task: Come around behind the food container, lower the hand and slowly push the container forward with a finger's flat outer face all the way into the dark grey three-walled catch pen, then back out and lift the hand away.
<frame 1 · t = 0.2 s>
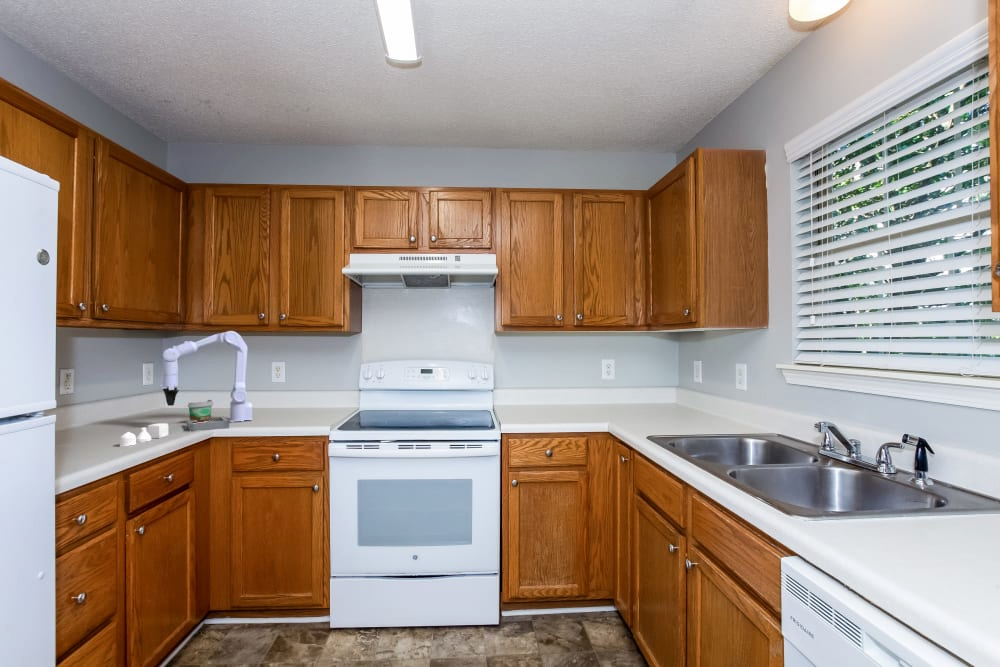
hand: (170, 404, 218), 10 cm above the countertop, tool pointing down, fingers open, 7 cm apart
food container: (203, 422, 230), on the countertop
catch pen: (207, 426, 218), on the countertop
container set: (143, 442, 188), on the countertop
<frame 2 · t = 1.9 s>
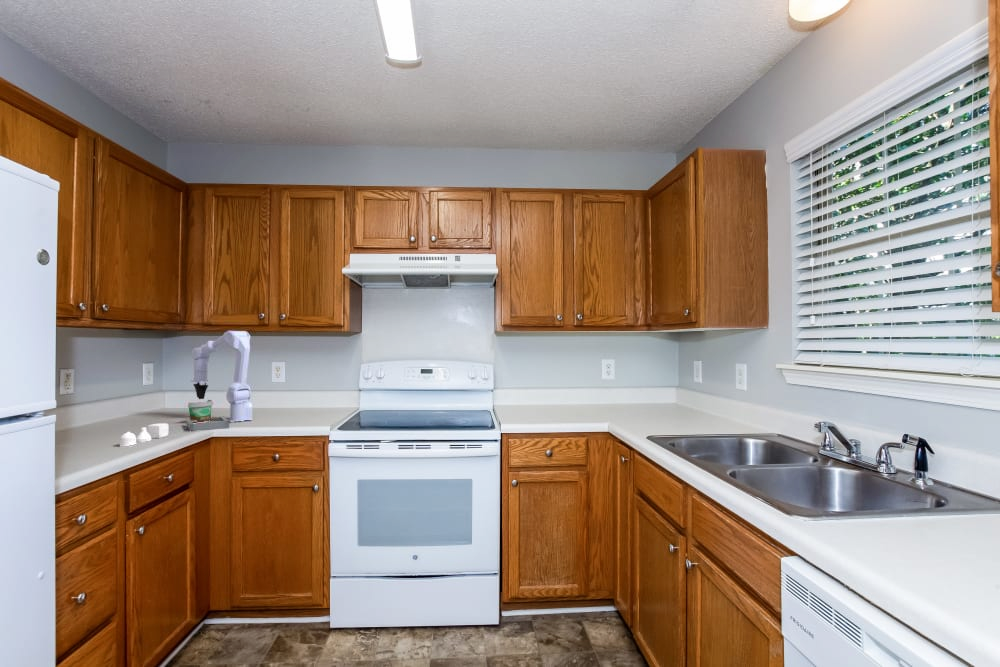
hand: (200, 398, 242), 10 cm above the countertop, tool pointing down, fingers open, 7 cm apart
nothing on the countertop moved.
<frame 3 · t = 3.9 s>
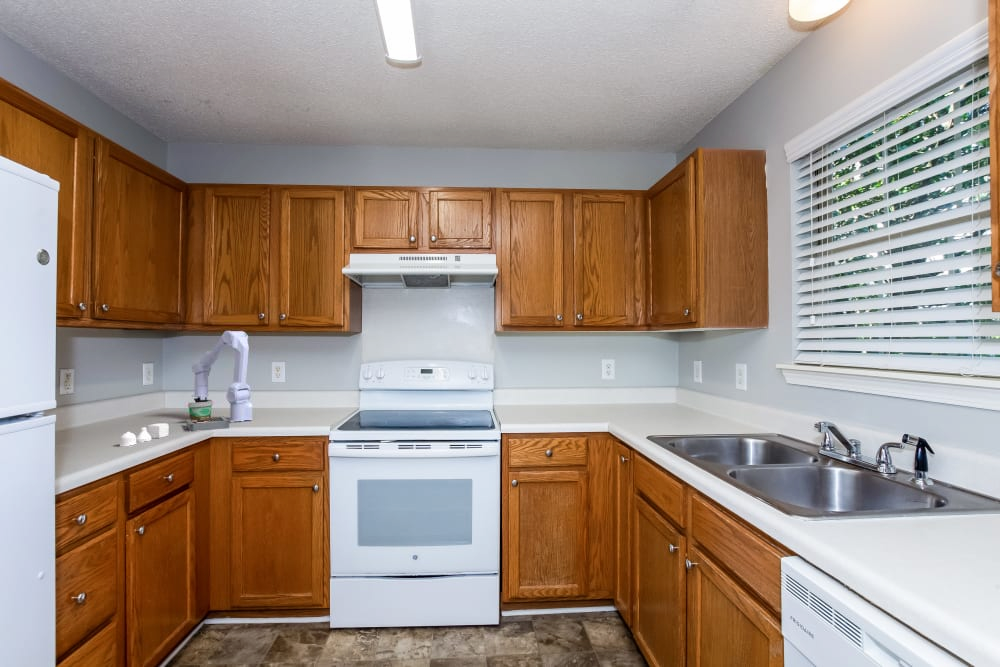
hand: (201, 412, 239), 3 cm above the countertop, tool pointing down, fingers open, 7 cm apart
food container: (203, 422, 230), on the countertop, touching gripper
everything else where it was.
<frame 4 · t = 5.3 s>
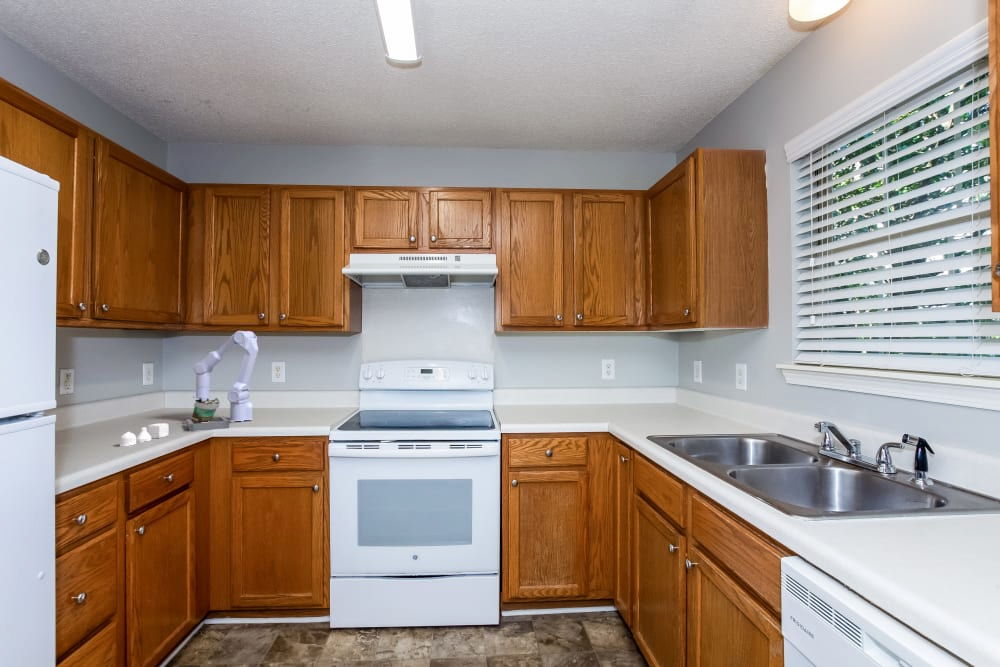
hand: (202, 414, 234), 3 cm above the countertop, tool pointing down, fingers open, 4 cm apart
food container: (204, 421, 229), point 1 cm above the countertop, touching gripper
everything else where it was.
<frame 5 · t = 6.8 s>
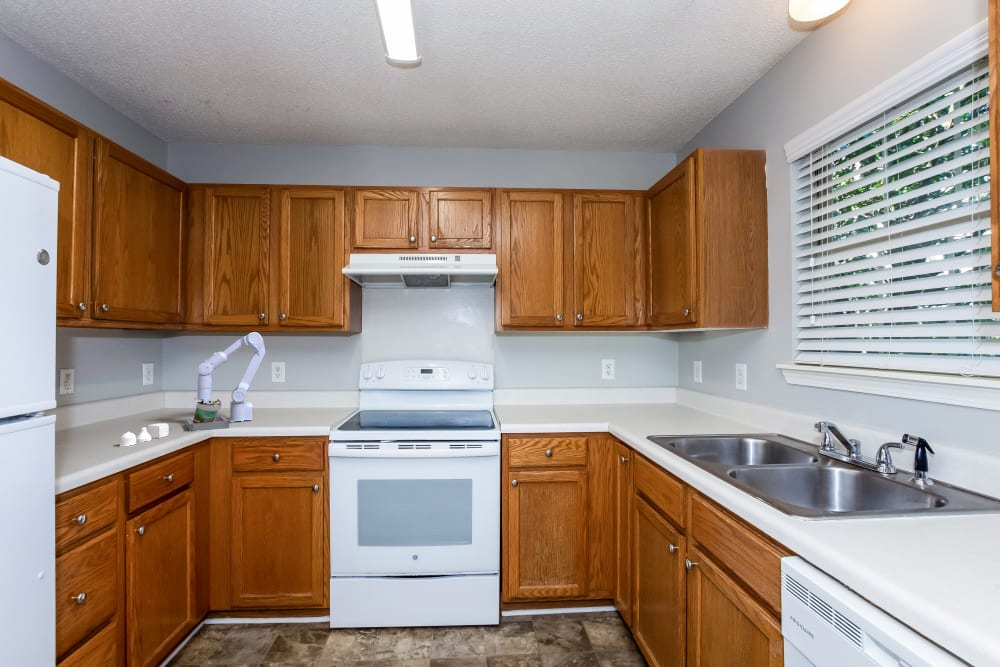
hand: (204, 416, 227), 3 cm above the countertop, tool pointing down, fingers closed
food container: (206, 423, 224), point 1 cm above the countertop, touching gripper
everything else where it was.
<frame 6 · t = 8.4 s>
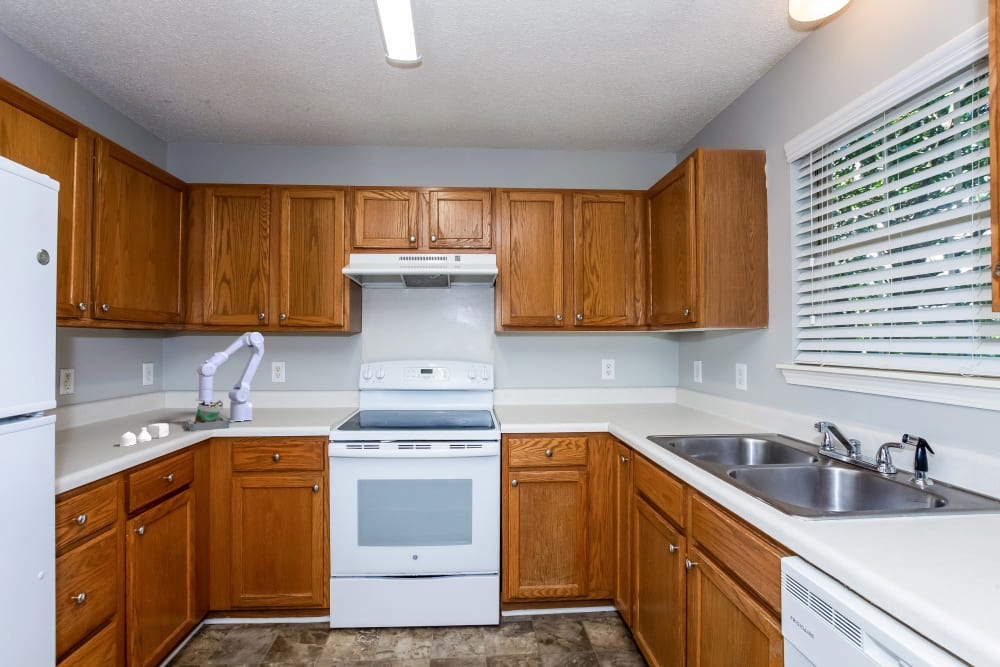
hand: (205, 418, 223), 3 cm above the countertop, tool pointing down, fingers closed
food container: (207, 424, 220), point 1 cm above the countertop, touching gripper
everything else where it was.
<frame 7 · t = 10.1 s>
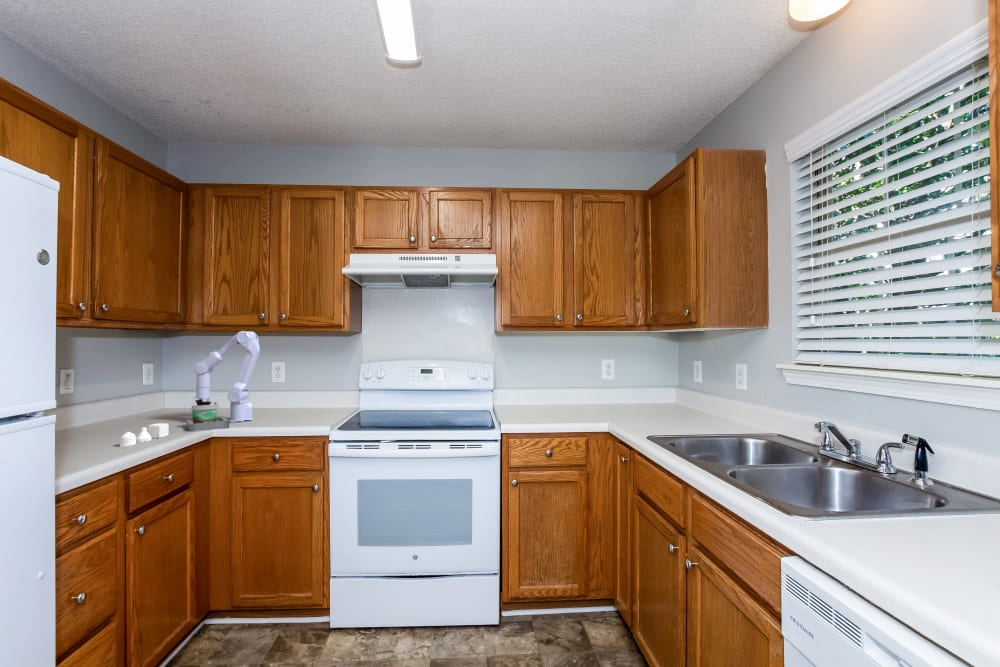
hand: (202, 415, 232), 3 cm above the countertop, tool pointing down, fingers open, 7 cm apart
food container: (208, 426, 220), on the countertop
everything else where it was.
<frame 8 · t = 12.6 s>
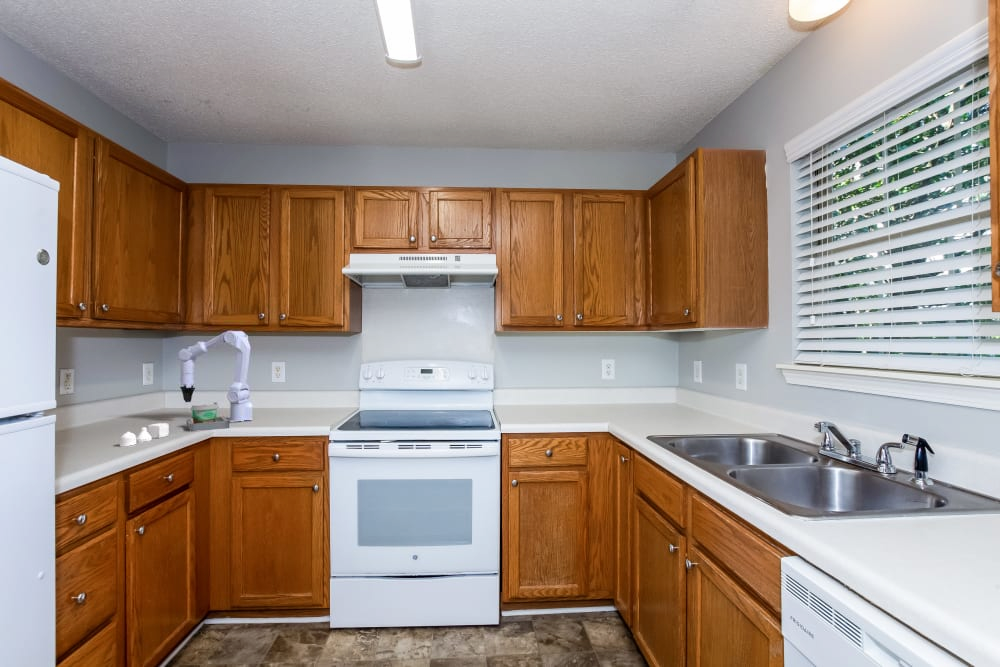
hand: (187, 401, 234), 9 cm above the countertop, tool pointing down, fingers open, 7 cm apart
nothing on the countertop moved.
at the end: food container inside the target area on the catch pen (2.8 cm from its centre), point 0.0 cm above the catch pen's base; food container tilted 0° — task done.
